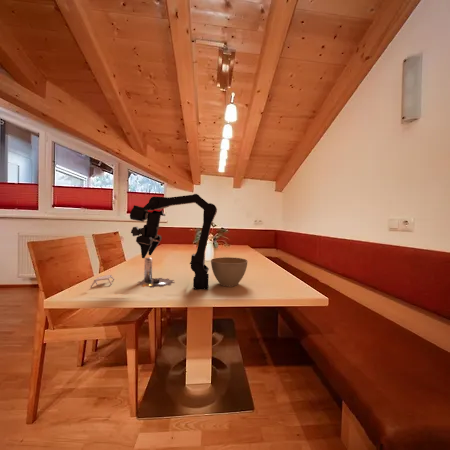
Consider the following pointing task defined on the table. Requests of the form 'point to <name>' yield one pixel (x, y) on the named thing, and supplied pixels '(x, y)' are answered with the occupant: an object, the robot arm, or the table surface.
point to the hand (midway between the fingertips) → (146, 256)
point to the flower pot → (229, 270)
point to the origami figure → (103, 279)
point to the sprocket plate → (162, 283)
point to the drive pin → (148, 269)
